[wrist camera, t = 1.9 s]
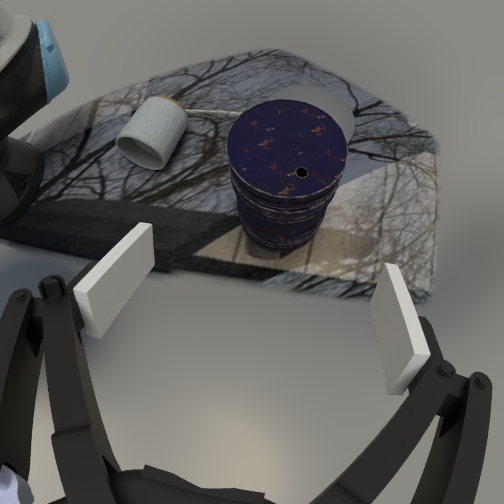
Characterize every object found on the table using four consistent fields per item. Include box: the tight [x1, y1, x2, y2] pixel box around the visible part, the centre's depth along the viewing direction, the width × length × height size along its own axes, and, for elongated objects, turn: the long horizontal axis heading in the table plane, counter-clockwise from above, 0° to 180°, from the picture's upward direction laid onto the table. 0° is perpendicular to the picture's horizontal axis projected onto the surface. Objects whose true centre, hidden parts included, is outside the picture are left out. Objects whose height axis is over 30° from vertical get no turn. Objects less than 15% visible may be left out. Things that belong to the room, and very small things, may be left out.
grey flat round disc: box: [267, 85, 355, 144], centre depth 40 cm, size 13×13×2 cm
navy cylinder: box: [226, 99, 348, 252], centre depth 30 cm, size 10×10×15 cm
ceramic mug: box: [116, 96, 188, 170], centre depth 38 cm, size 11×8×8 cm
